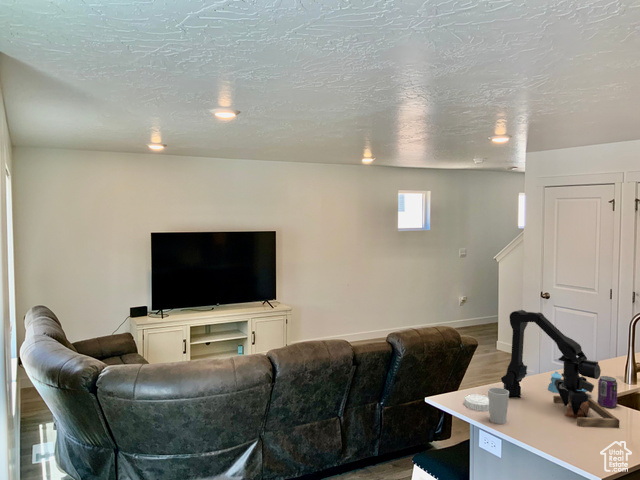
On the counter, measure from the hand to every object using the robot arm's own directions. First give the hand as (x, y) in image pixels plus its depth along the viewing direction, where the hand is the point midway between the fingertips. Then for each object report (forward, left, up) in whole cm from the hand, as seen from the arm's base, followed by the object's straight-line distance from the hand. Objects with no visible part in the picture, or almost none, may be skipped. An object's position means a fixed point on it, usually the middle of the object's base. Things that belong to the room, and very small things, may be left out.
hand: (570, 410), depth 196 cm
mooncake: (-36, +5, -2) cm, 36 cm away
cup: (-32, -10, -2) cm, 33 cm away
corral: (+5, 0, -2) cm, 5 cm away
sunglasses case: (+4, +3, -2) cm, 6 cm away
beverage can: (+20, +11, -2) cm, 23 cm away
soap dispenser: (+10, +25, -2) cm, 27 cm away
